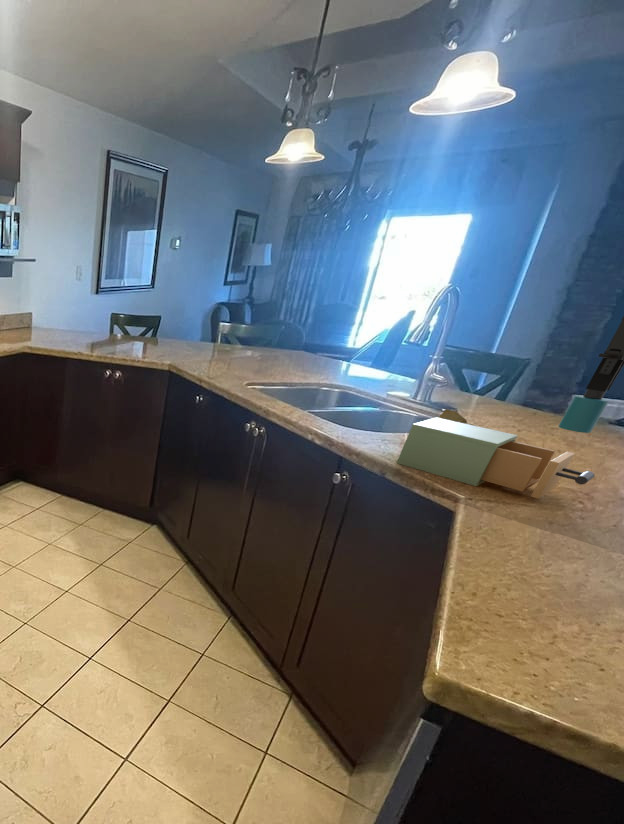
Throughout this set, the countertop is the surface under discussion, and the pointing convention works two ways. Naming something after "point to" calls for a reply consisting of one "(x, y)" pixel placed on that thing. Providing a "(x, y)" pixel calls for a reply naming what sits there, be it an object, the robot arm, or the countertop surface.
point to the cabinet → (452, 449)
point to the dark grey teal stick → (584, 411)
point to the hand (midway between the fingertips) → (597, 389)
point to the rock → (452, 416)
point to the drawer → (530, 468)
